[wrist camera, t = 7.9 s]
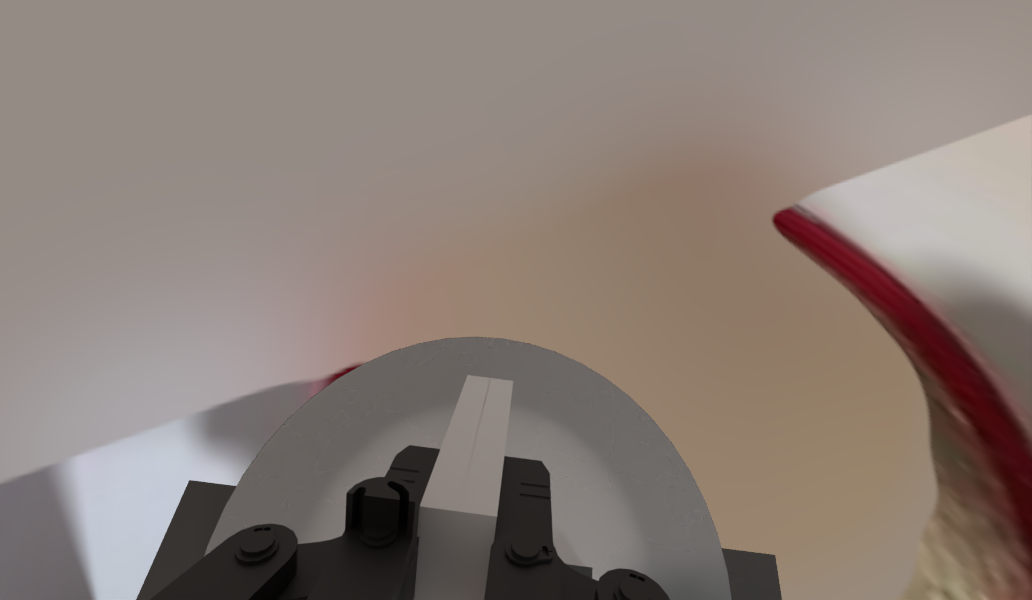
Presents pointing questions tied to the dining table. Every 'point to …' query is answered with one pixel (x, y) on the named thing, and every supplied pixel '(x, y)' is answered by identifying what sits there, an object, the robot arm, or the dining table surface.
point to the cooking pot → (206, 501)
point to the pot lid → (531, 435)
